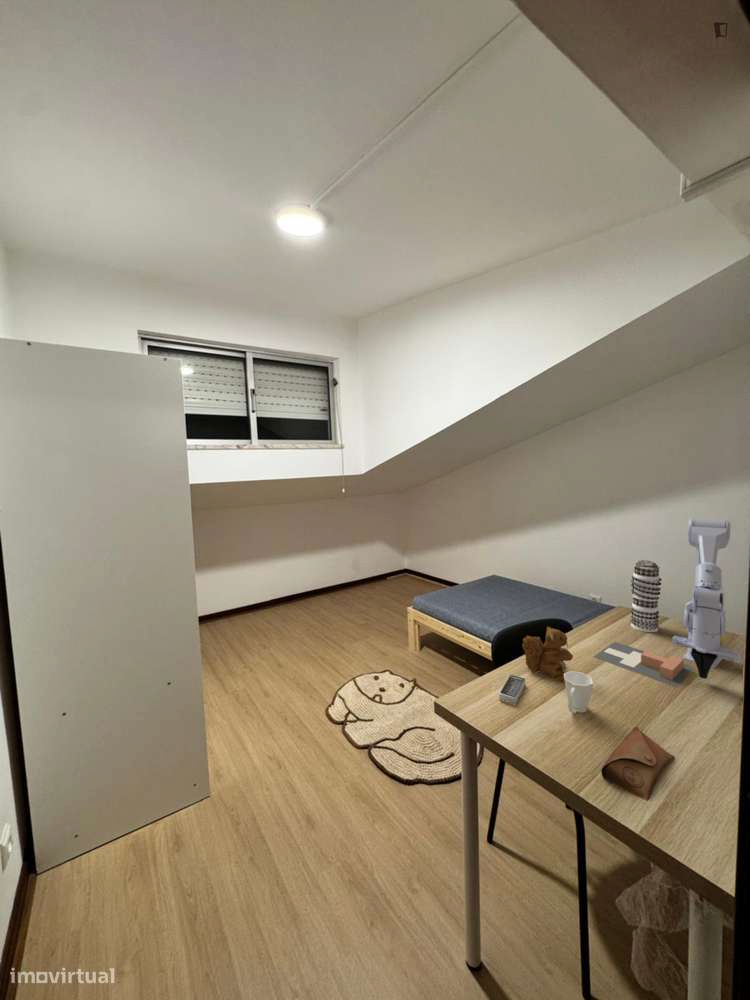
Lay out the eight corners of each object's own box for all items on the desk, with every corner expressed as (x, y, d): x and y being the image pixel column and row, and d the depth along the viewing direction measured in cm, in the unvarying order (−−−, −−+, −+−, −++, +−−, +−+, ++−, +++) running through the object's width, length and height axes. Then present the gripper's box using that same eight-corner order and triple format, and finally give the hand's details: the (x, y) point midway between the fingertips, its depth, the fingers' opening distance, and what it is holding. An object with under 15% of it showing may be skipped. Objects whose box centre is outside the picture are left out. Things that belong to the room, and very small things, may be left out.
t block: (648, 656, 124) (649, 647, 124) (683, 668, 117) (683, 658, 117) (636, 667, 118) (636, 658, 118) (672, 680, 111) (672, 670, 111)
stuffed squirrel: (573, 683, 112) (574, 639, 111) (521, 675, 117) (521, 633, 116) (570, 666, 121) (571, 625, 120) (522, 659, 127) (522, 620, 125)
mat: (614, 642, 135) (614, 641, 135) (694, 668, 118) (694, 667, 118) (593, 658, 126) (593, 656, 126) (676, 688, 108) (676, 687, 108)
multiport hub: (498, 701, 106) (498, 693, 106) (510, 681, 115) (510, 674, 115) (515, 706, 103) (515, 698, 103) (525, 686, 112) (525, 678, 112)
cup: (596, 706, 102) (597, 677, 101) (585, 726, 94) (585, 694, 94) (567, 695, 107) (568, 667, 106) (554, 714, 99) (555, 684, 98)
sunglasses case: (649, 804, 73) (630, 765, 75) (613, 800, 78) (596, 764, 80) (676, 755, 84) (658, 723, 86) (643, 755, 89) (627, 724, 91)
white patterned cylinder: (661, 634, 140) (664, 566, 137) (630, 629, 144) (632, 563, 142) (658, 624, 148) (660, 560, 145) (629, 620, 152) (631, 557, 150)
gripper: (669, 625, 111) (667, 671, 113) (737, 643, 100) (734, 693, 101) (677, 619, 116) (675, 662, 117) (744, 635, 104) (740, 683, 105)
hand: (703, 676), depth 109 cm, fingers closed
